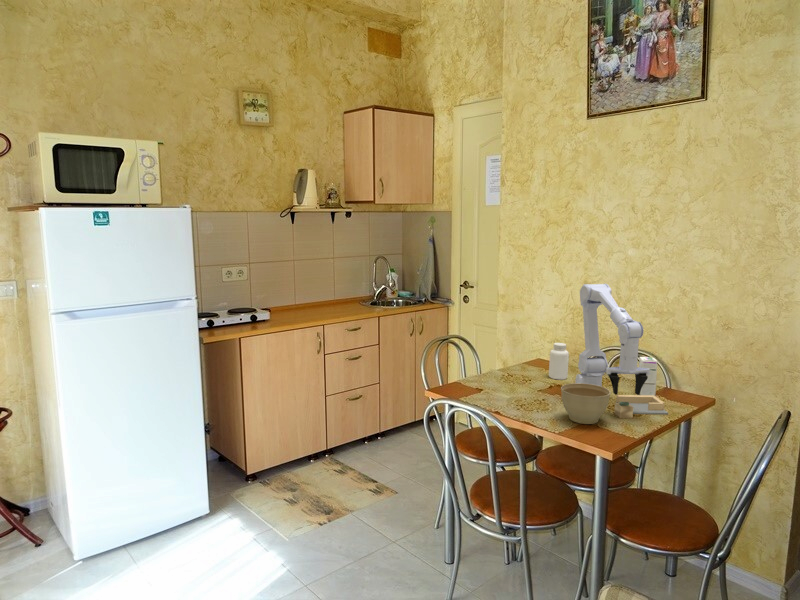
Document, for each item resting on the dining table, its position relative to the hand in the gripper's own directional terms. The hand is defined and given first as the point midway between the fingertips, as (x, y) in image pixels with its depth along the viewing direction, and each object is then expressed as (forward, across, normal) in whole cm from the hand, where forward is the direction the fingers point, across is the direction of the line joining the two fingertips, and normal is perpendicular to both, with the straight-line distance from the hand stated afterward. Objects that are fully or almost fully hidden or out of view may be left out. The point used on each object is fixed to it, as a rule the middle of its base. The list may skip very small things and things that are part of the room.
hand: (626, 393), depth 196 cm
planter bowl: (+8, -16, -5) cm, 19 cm away
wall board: (+8, +9, +8) cm, 14 cm away
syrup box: (+8, +18, +25) cm, 32 cm away
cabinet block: (+8, -1, 0) cm, 8 cm away
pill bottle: (+8, -11, +47) cm, 49 cm away
